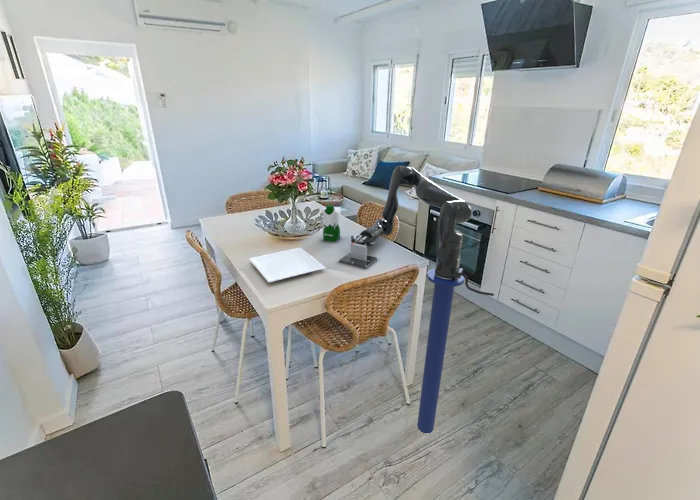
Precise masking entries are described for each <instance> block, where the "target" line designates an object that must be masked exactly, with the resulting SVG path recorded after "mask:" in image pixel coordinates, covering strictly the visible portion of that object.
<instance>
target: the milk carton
mask: <svg viewBox="0 0 700 500" xmlns="http://www.w3.org/2000/svg"><path fill="white" fill-rule="evenodd" d="M341 209H342V207H339V206H335V205H333V204H327V205H325V207H324V208H323V209H321V212H322V239H323V241H325V242H332V243H337V241H338V240H339V239H341Z"/></svg>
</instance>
